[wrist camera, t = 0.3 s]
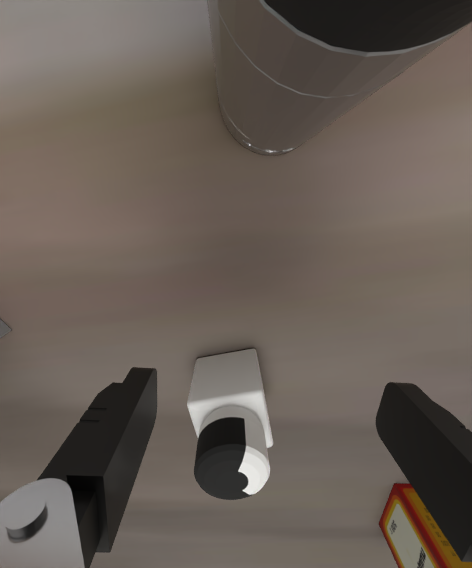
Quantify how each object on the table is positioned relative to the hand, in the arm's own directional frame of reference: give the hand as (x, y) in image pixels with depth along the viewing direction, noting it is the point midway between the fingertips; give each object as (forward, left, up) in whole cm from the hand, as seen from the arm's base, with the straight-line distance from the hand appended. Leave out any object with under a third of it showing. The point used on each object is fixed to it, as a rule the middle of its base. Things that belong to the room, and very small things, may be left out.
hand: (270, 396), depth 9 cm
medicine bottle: (+14, 0, -19) cm, 23 cm away
